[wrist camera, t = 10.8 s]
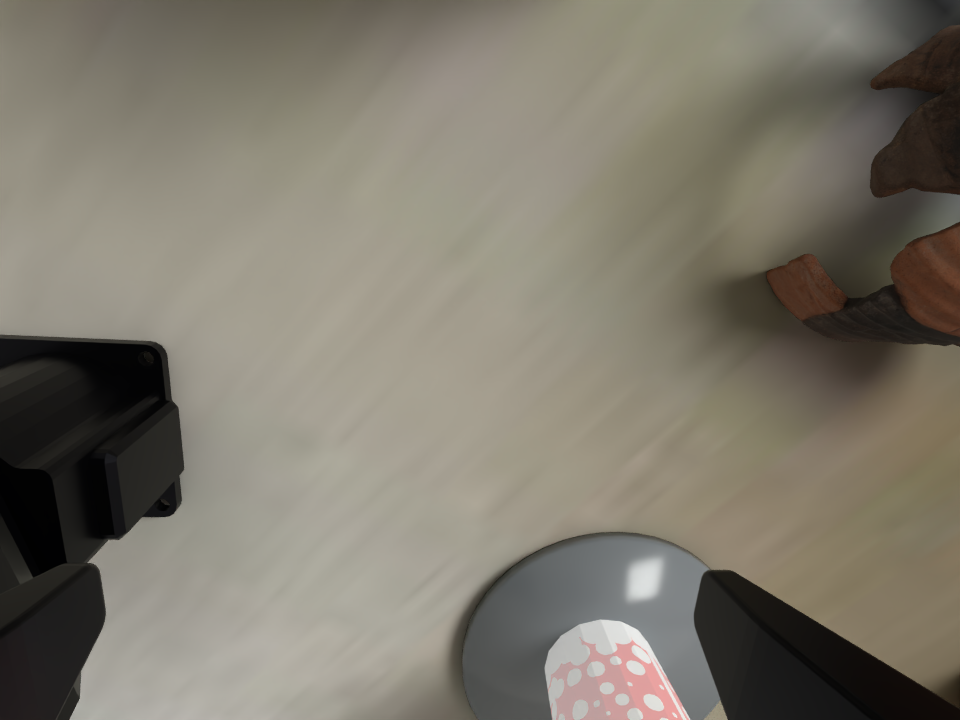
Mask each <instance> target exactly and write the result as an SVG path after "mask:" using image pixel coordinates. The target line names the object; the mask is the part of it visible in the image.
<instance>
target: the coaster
mask: <svg viewBox="0 0 960 720" xmlns="http://www.w3.org/2000/svg"><path fill="white" fill-rule="evenodd" d="M707 570H711V569H710V568H709V567H708V566H707V565H706V564H705V563H704V562H703V561H702V560H700V559H699V558H698V557H696V556H695V555H693V554H692V553H690V552H689V551H688V550H686V549H684V548H682V547H680V546H678V545H676V544H674V543H672V542H669V541H666V540H663V539H660V538H657V537H653V536H648V535H643V534H638V533H625V532H608V533H596V534H589V535H583V536H578V537H575V538H571V539H567V540H564V541H561V542H558V543H556V544H553V545H551V546H548V547H546V548H543V549H541V550H540V551H538V552H536V553H534V554H532V555H530V556H528V557H526V558H525V559H524V560H522V561H521V562H519V563H518V564H516V565H515V566H513V567H512V568H511V569H510V570H508V571H507V572H506V573H505V574H504V575H503V576H502V577H501V578H499V579H498V580H497V581H496V582H495V584H494V585H493V586H492V587H491V588H490V589H489V590H488V592H487V593H486V594H485V595H484V597H483V598H482V600H481V601H480V603H479V604H478V606H477V607H476V609H475V611H474V613H473V615H472V618H471V620H470V622H469V624H468V628H467V631H466V634H465V637H464V644H463V650H462V669H463V681H464V687H465V692H466V695H467V698H468V701H469V704H470V706H471V708H472V710H473V712H474V714H475V715H476V717H477V719H478V720H552V715H551V708H550V701H549V695H548V688H547V681H546V675H545V664H546V660H547V656H548V652H549V650H550V649H551V648H552V646H553V645H554V644H555V643H556V641H557V640H558V639H559V638H560V636H561V635H563V634H565V633H566V632H568V631H569V630H571V629H573V628H574V627H576V626H578V625H579V624H583V623H588V622H592V621H596V620H611V621H621V622H623V623H625V624H627V625H629V626H631V627H633V628H635V629H637V630H638V631H639V632H640V633H641V635H642V636H643V637H644V638H645V640H646V641H647V642H648V644H649V645H650V647H651V649H652V651H653V653H654V655H655V656H656V658H657V660H658V662H659V664H660V665H661V667H662V669H663V671H664V673H665V674H666V676H667V678H668V680H669V682H670V684H671V685H672V687H673V689H674V691H675V693H676V694H677V696H678V698H679V700H680V702H681V703H682V705H683V707H684V709H685V711H686V712H687V714H688V716H689V718H690V720H703V719H704V718H705V717H706V716H707V715H708V714H709V713H710V712H711V711H712V710H713V708H714V707H715V706H716V705H717V704H718V702H719V701H720V697H719V694H718V691H717V689H716V686H715V683H714V680H713V677H712V675H711V672H710V669H709V666H708V664H707V661H706V658H705V655H704V652H703V650H702V647H701V644H700V641H699V638H698V636H697V633H696V630H695V626H694V609H695V604H696V600H697V595H698V590H699V586H700V581H701V577H702V575H703V573H704V572H705V571H707Z"/></svg>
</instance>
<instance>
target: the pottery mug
mask: <svg viewBox="0 0 960 720" xmlns="http://www.w3.org/2000/svg"><path fill="white" fill-rule="evenodd" d="M870 85H871V87H872V88H873V89H875V90H881V89H886V88H897V87H903V88H911V89H916V90H923V91H926V92H933V93H939V94H941V95H939V96H937V97H935V98H933V99H931V100H929V101H927V102H925V103H923V104H921V105H920V106H919V107H918V108H917V109H916V110H915V111H914V113H912V114H911V115H910V116H909V117H908V118H907V119H906V120H905V122H904V123H903V125H902V126H901V128H900V129H899V131H898V132H897V134H896V136H895V137H894V139H893V140H892V142H891V143H889V144H888V145H887V146H886V147H884V148H883V149H882V150H881V151H879V152H878V154H877V155H876V156H875V158H874V160H873V162H872V166H871V180H870V188H871V191H872V193H873V195H874V196H875V197H877V198H882V197H886V196H890V195H893V194H897V193H900V192H903V191H905V190H908V189H910V188H915V189H918V190H921V191H930V192H939V193H950V194H958V195H960V25H955V26H949V27H947V28H945V29H943V30H941V31H939V32H938V33H937V34H936V35H935V36H933V37H932V38H931V39H930V40H929V41H928V42H926V43H925V44H923V45H922V46H920V47H919V48H917V49H916V50H914V51H912V52H911V53H909V54H908V55H907V56H905V57H904V58H902V59H900V60H898V61H896V62H894V63H893V64H892V65H890V66H889V67H888V68H886V69H885V70H884V71H882V72H881V73H880V74H879V75H877V76H876V77H875V78H873V79H872V81H871V83H870ZM890 270H891V278H892V280H893V282H894V284H892V285H888V286H885V287H883V288H881V289H880V290H878V291H877V292H875V293H872V294H870V295H869V296H867V297H865V298H848V297H847V296H846V295H845V294H844V293H843V291H841V290H840V289H839V288H838V287H837V286H836V285H835V284H834V282H833V281H832V280H831V279H830V278H829V276H828V275H827V273H826V272H825V271H824V269H823V268H822V266H821V265H820V264H819V262H818V260H817V259H816V257H815V256H813V255H811V254H804V255H802V256H800V257H798V258H796V259H793V260H791V261H790V262H789V263H788V264H787V265H784V266H780V267H777V268H774V269H771V270H769V271H768V272H767V280H768V282H769V283H770V285H771V287H772V289H773V291H774V293H775V295H776V296H777V297H778V298H779V299H780V301H781V302H782V303H783V304H784V306H785V307H786V308H787V309H788V310H789V311H790V312H792V313H793V314H794V315H795V316H796V317H797V318H798V319H800V320H801V321H802V322H803V323H804V324H805V325H806V326H808V327H810V328H811V329H813V330H814V331H817V332H819V333H820V334H822V335H823V336H826V337H829V338H833V339H837V340H841V341H849V342H862V341H876V342H897V343H903V344H924V343H926V344H933V345H942V346H947V345H951V344H954V345H957V346H959V347H960V222H958V223H956V224H954V225H952V226H950V227H948V228H946V229H943V230H941V231H939V232H937V233H933V234H930V235H926V236H923V237H920V238H917V239H915V240H913V241H911V242H910V243H908V244H907V245H906V247H905V248H904V250H902V251H901V252H900V253H898V254H897V256H896V257H895V258H894V260H893V262H892V264H891V266H890Z"/></svg>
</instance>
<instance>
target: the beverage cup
mask: <svg viewBox="0 0 960 720" xmlns="http://www.w3.org/2000/svg"><path fill="white" fill-rule="evenodd" d="M545 675H546V681H547V688H548V695H549V701H550V708H551V715H552V720H690V718H689V716H688V714H687V712H686V711H685V709H684V707H683V705H682V703H681V702H680V700H679V698H678V696H677V694H676V693H675V691H674V689H673V687H672V685H671V684H670V682H669V680H668V678H667V676H666V674H665V673H664V671H663V669H662V667H661V665H660V664H659V662H658V660H657V658H656V656H655V655H654V653H653V651H652V649H651V647H650V645H649V644H648V642H647V641H646V640H645V638H644V637H643V636H642V635H641V633H640V632H639V631H638V630H637V629H635V628H633V627H631V626H629V625H627V624H625V623H623V622H621V621H611V620H596V621H592V622H588V623H583V624H579V625H578V626H576V627H574V628H573V629H571V630H569V631H568V632H566V633H565V634H563V635H561V636H560V638H559V639H558V640H557V641H556V643H555V644H554V645H553V646H552V648H551V649H550V650H549V652H548V656H547V660H546V664H545Z"/></svg>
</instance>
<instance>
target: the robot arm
mask: <svg viewBox="0 0 960 720" xmlns="http://www.w3.org/2000/svg"><path fill="white" fill-rule="evenodd" d="M145 351H146V352H149V353H150V354H152V355H153V357H154V363H152V362H148V361H147V360H146V359H145V357H144V352H145ZM183 470H184V461H183V450H182V440H181V430H180V419H179V409H178V407H177V405H176V404H175V403H174V402H173V401H172V397H171V387H170V377H169V368H168V358H167V353H166V350H165V349H164V348H163V347H162V346H161V345H160V344H158V343H156V342H152V341H134V340H110V339H87V338H64V337H40V336H17V335H0V720H69V719H70V717H71V715H72V713H73V711H74V709H75V707H76V705H77V703H78V701H79V699H80V683H81V670H82V668H83V666H84V664H85V662H86V660H87V658H88V656H89V654H90V652H91V650H92V648H93V646H94V644H95V642H96V640H97V638H98V636H99V634H100V632H101V630H102V628H103V625H104V622H105V616H106V608H105V602H104V595H103V589H102V582H101V575H100V571H99V569H98V567H97V566H96V565H94V564H91V563H87V562H88V561H89V560H90V559H91V558H92V557H93V556H94V555H95V554H96V553H97V552H98V551H99V550H100V548H101V547H102V546H103V545H104V544H105V543H106V542H107V541H108V540H119V539H121V538H122V537H123V536H124V535H126V534H127V533H128V532H129V531H130V530H131V528H132V527H133V526H134V525H135V524H136V523H137V522H138V521H139V520H140V518H141V517H168V516H171V515H172V514H174V513H175V511H176V510H177V509H178V508H179V506H180V505H181V501H182V497H181V487H180V477H179V475H180V474H181V473H182V472H183ZM160 499H165V500H167V501H168V502H169V504H170V505H165V504H163V503H162V502H161V500H160ZM694 626H695V630H696V633H697V636H698V638H699V641H700V644H701V647H702V650H703V652H704V655H705V658H706V661H707V664H708V666H709V669H710V672H711V675H712V677H713V680H714V683H715V686H716V689H717V691H718V694H719V697H720V700H721V703H722V705H723V708H724V711H725V714H726V716H727V719H728V720H960V708H958V707H956V706H955V705H953V704H952V703H950V702H948V701H947V700H945V699H943V698H942V697H940V696H938V695H937V694H935V693H933V692H932V691H930V690H928V689H927V688H925V687H923V686H922V685H920V684H918V683H917V682H915V681H914V680H912V679H910V678H909V677H907V676H905V675H904V674H902V673H900V672H899V671H897V670H895V669H894V668H892V667H890V666H889V665H887V664H885V663H884V662H882V661H881V660H879V659H877V658H876V657H874V656H872V655H871V654H869V653H867V652H866V651H864V650H862V649H861V648H859V647H857V646H856V645H854V644H852V643H851V642H849V641H847V640H846V639H844V638H843V637H841V636H839V635H838V634H836V633H834V632H833V631H831V630H829V629H828V628H826V627H824V626H823V625H821V624H819V623H818V622H816V621H814V620H813V619H811V618H810V617H808V616H806V615H805V614H803V613H801V612H800V611H798V610H796V609H795V608H793V607H791V606H790V605H788V604H786V603H785V602H783V601H781V600H780V599H778V598H777V597H775V596H773V595H772V594H770V593H768V592H767V591H765V590H763V589H762V588H760V587H758V586H757V585H755V584H753V583H752V582H750V581H749V580H747V579H745V578H744V577H742V576H740V575H739V574H737V573H735V572H733V571H731V570H707V571H705V572H704V573H703V575H702V577H701V581H700V586H699V590H698V595H697V600H696V604H695V609H694Z"/></svg>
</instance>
